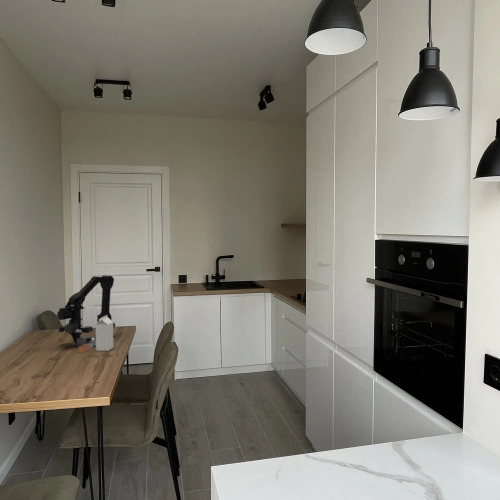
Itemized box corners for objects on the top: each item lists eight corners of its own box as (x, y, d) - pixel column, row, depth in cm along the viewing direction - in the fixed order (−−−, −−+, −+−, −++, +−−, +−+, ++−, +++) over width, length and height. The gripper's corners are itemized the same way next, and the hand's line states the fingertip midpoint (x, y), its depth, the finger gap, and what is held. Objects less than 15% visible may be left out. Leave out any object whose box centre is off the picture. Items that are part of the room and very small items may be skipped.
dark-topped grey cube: (81, 344, 241) (81, 336, 241) (91, 344, 241) (90, 336, 240) (76, 346, 236) (76, 338, 236) (86, 347, 236) (86, 338, 235)
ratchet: (87, 344, 241) (87, 335, 241) (99, 344, 240) (99, 335, 240) (71, 352, 225) (71, 342, 225) (84, 352, 224) (84, 343, 224)
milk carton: (113, 347, 234) (113, 315, 234) (108, 351, 227) (107, 317, 226) (101, 347, 235) (101, 315, 234) (95, 350, 228) (95, 317, 227)
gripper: (52, 319, 232) (52, 346, 233) (83, 320, 230) (83, 347, 230) (64, 315, 243) (64, 341, 244) (93, 316, 241) (93, 342, 241)
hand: (75, 343), depth 239 cm, fingers closed
